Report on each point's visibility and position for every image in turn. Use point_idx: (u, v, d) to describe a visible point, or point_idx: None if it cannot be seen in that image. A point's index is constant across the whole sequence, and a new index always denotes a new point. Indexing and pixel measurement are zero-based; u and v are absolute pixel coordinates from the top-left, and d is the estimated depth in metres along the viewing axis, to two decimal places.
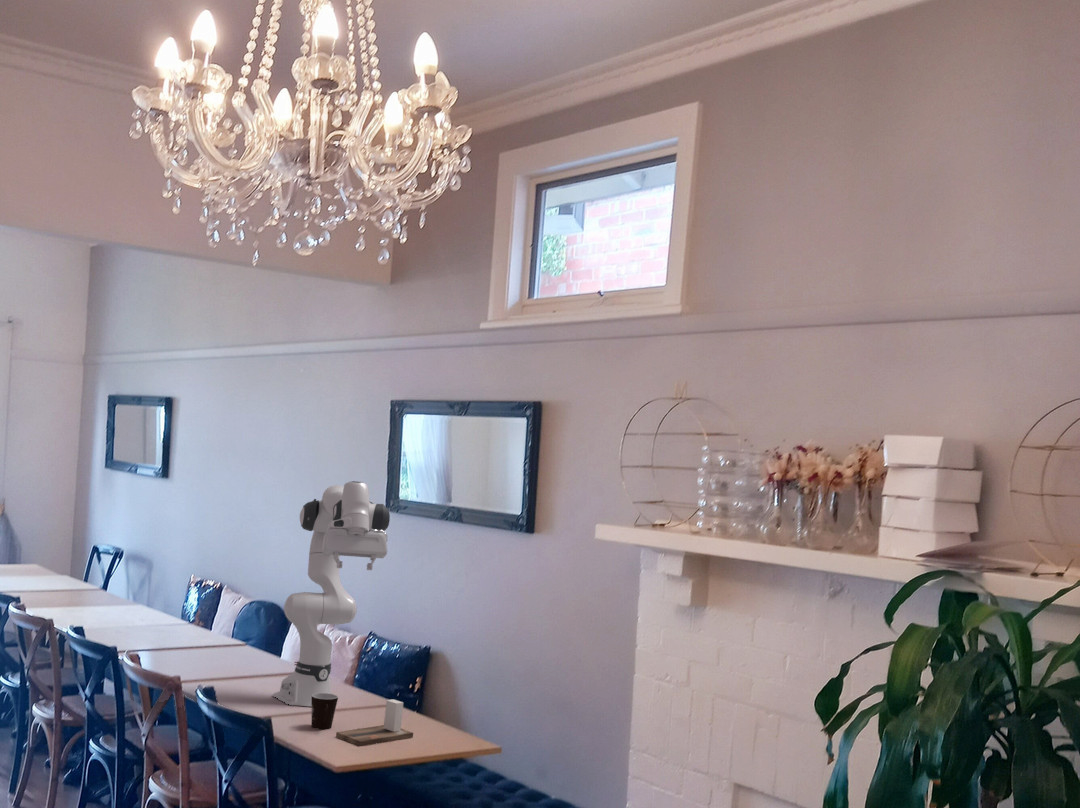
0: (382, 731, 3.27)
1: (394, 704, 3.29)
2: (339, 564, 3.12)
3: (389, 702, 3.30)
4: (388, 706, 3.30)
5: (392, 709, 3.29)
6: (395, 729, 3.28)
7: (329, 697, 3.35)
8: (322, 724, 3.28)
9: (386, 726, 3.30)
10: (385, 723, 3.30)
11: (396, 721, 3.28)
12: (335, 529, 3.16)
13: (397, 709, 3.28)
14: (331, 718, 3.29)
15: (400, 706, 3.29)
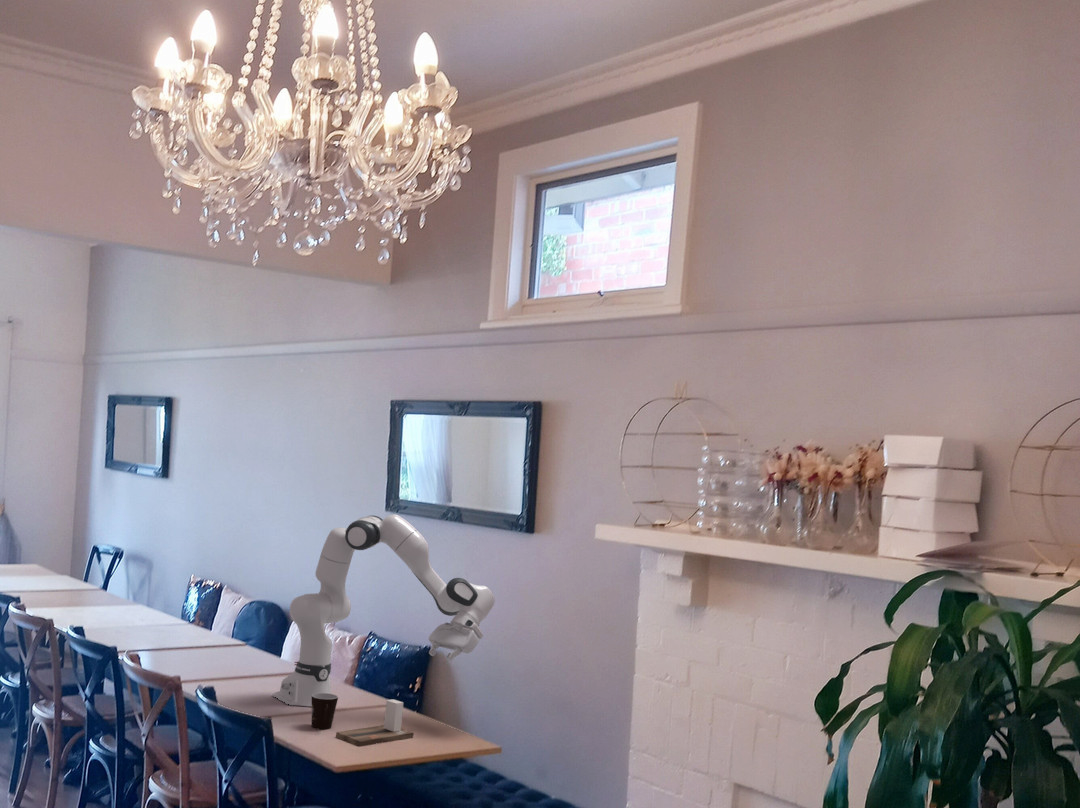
0: (382, 731, 3.27)
1: (394, 704, 3.29)
2: None
3: (389, 702, 3.30)
4: (388, 706, 3.30)
5: (392, 709, 3.29)
6: (395, 729, 3.28)
7: (329, 697, 3.35)
8: (322, 724, 3.28)
9: (386, 726, 3.30)
10: (385, 723, 3.30)
11: (396, 721, 3.28)
12: None
13: (397, 709, 3.28)
14: (331, 718, 3.29)
15: (400, 706, 3.29)
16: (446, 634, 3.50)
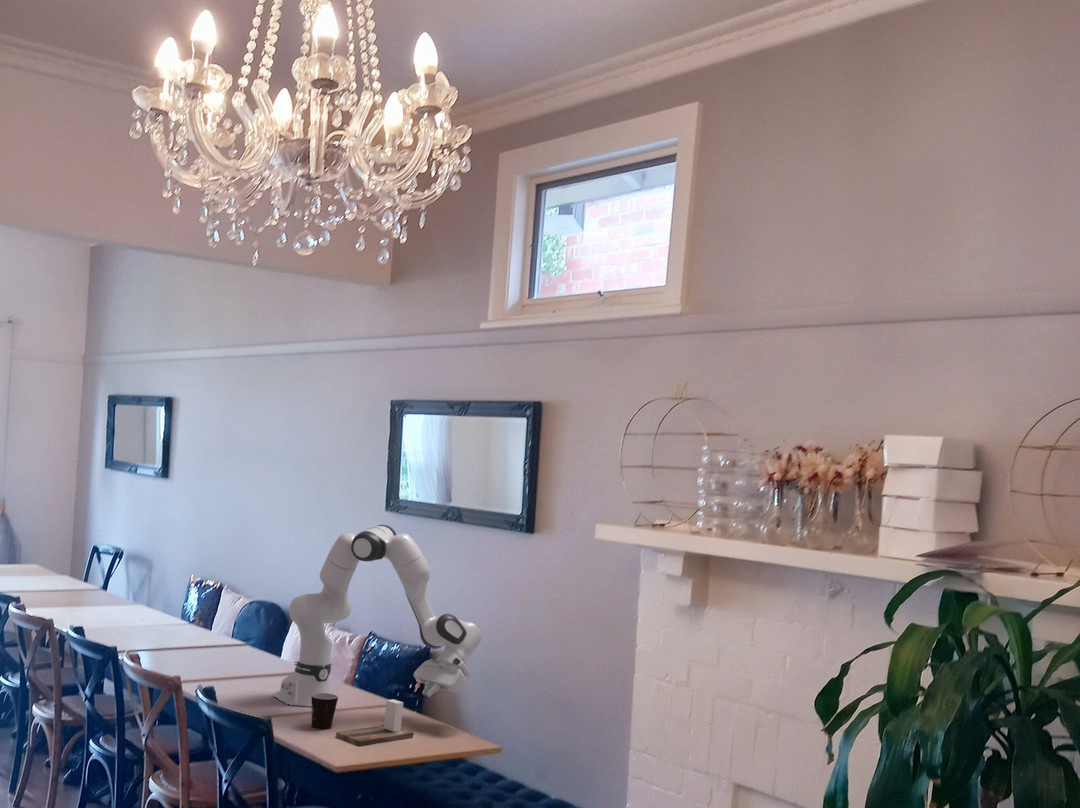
0: (382, 731, 3.27)
1: (394, 704, 3.29)
2: None
3: (389, 702, 3.30)
4: (388, 706, 3.30)
5: (392, 709, 3.29)
6: (395, 729, 3.28)
7: (329, 697, 3.35)
8: (322, 724, 3.28)
9: (386, 726, 3.30)
10: (385, 723, 3.30)
11: (396, 721, 3.28)
12: None
13: (397, 709, 3.28)
14: (331, 718, 3.29)
15: (400, 706, 3.29)
16: (432, 671, 3.46)
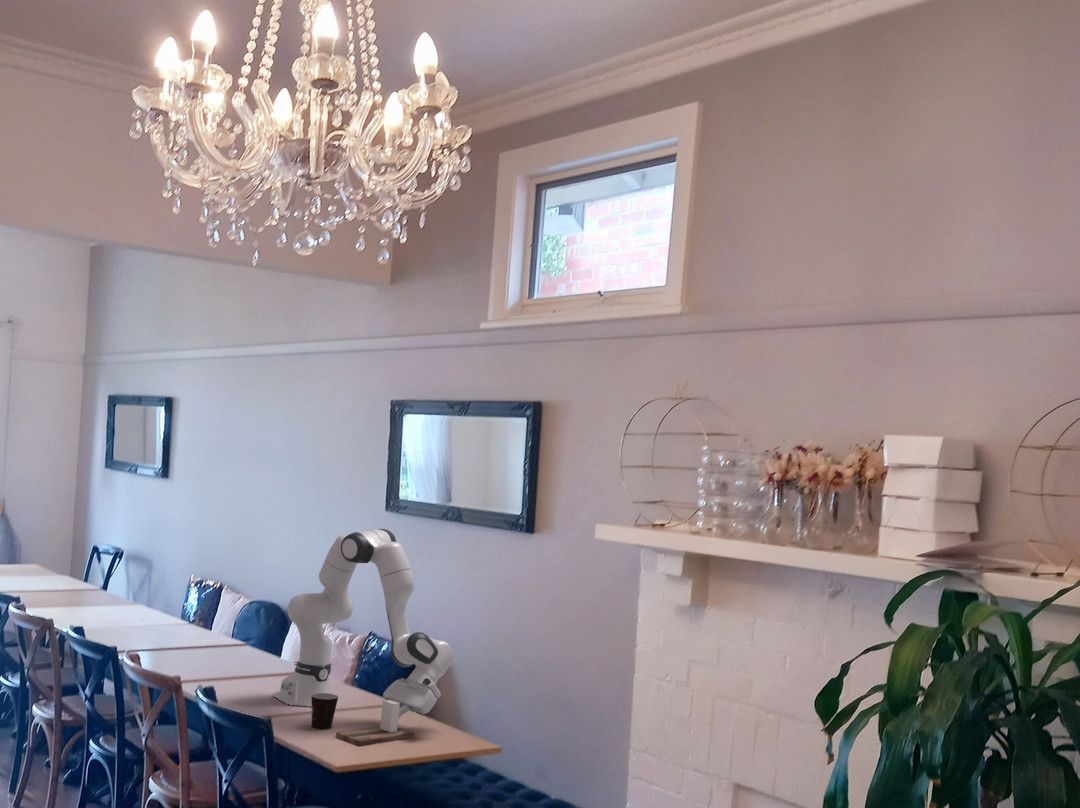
0: (382, 731, 3.27)
1: (390, 704, 3.27)
2: None
3: (385, 702, 3.29)
4: (384, 706, 3.29)
5: (389, 709, 3.28)
6: (391, 730, 3.27)
7: (329, 697, 3.35)
8: (322, 724, 3.28)
9: (382, 727, 3.29)
10: (382, 724, 3.29)
11: (392, 721, 3.27)
12: None
13: (393, 709, 3.27)
14: (331, 718, 3.29)
15: (396, 706, 3.28)
16: (402, 692, 3.36)
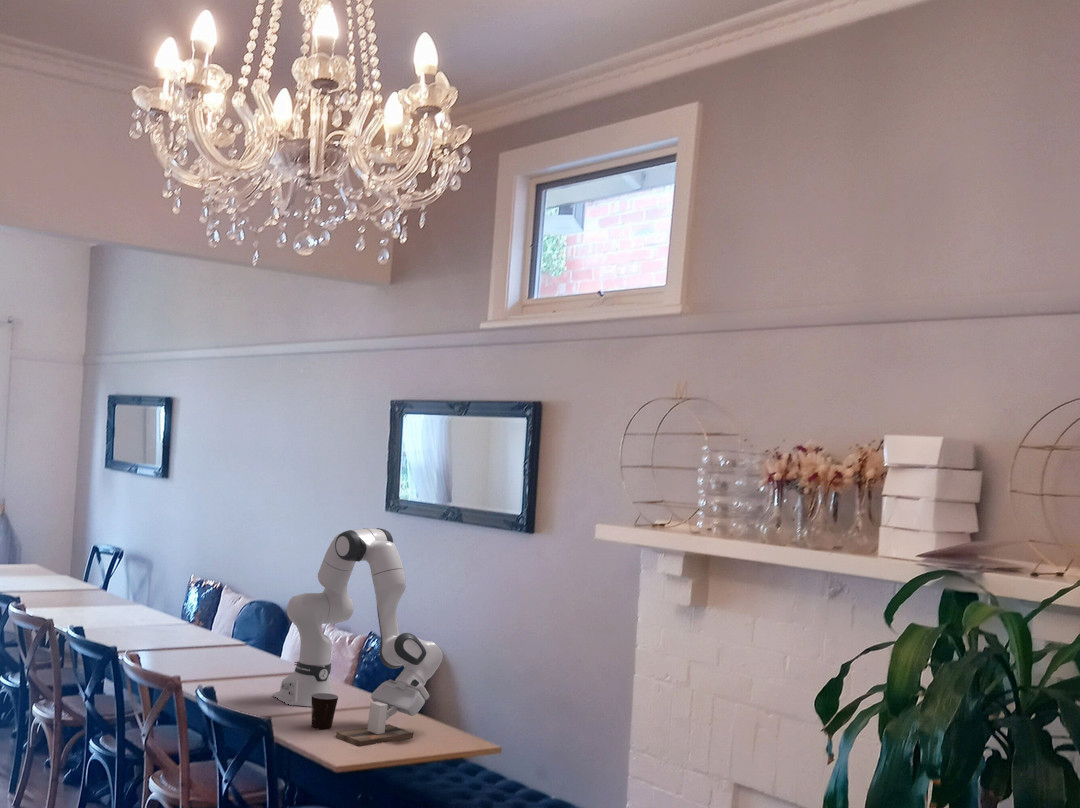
0: None
1: (378, 706, 3.23)
2: None
3: (373, 704, 3.25)
4: (372, 708, 3.25)
5: (376, 711, 3.24)
6: (379, 732, 3.23)
7: (329, 697, 3.35)
8: (322, 724, 3.28)
9: (370, 729, 3.25)
10: (369, 726, 3.25)
11: (380, 723, 3.23)
12: None
13: (381, 711, 3.23)
14: (331, 718, 3.29)
15: (384, 708, 3.24)
16: (390, 693, 3.32)
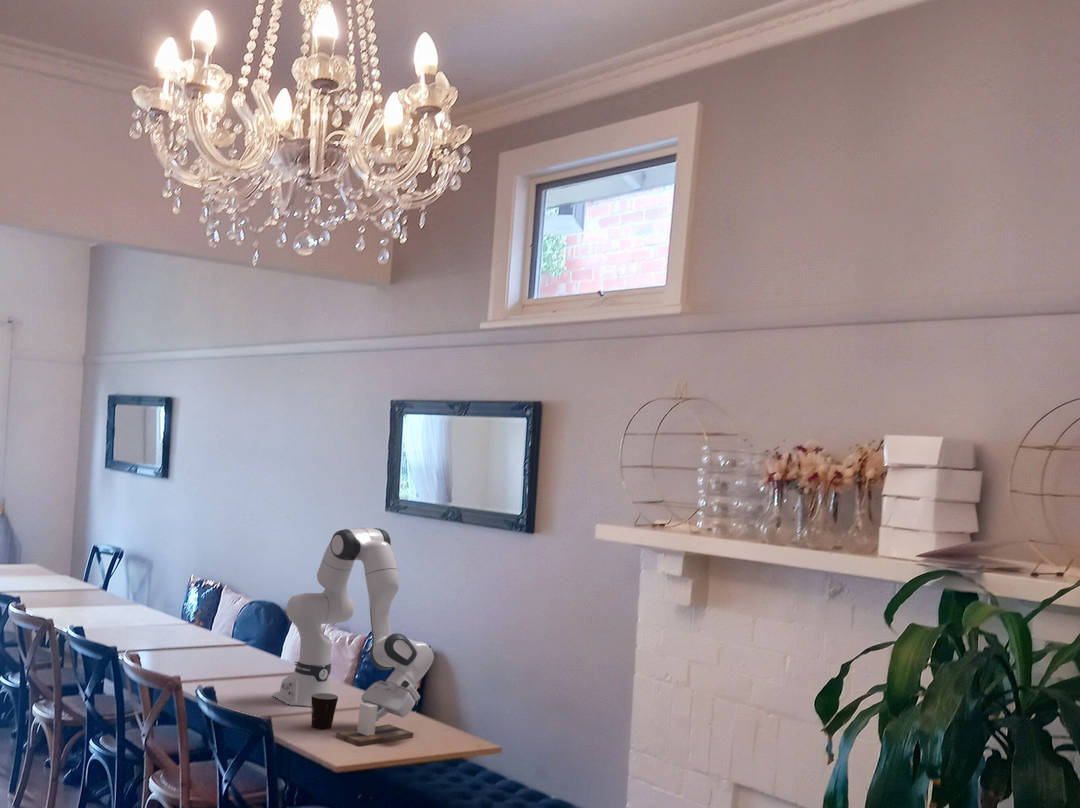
0: (382, 731, 3.27)
1: (368, 707, 3.20)
2: None
3: (363, 705, 3.22)
4: (362, 709, 3.22)
5: (366, 712, 3.21)
6: (369, 733, 3.20)
7: (329, 697, 3.35)
8: (322, 724, 3.28)
9: (360, 730, 3.21)
10: (359, 727, 3.22)
11: (370, 725, 3.20)
12: None
13: (371, 713, 3.20)
14: (331, 718, 3.29)
15: (374, 709, 3.21)
16: (380, 694, 3.29)
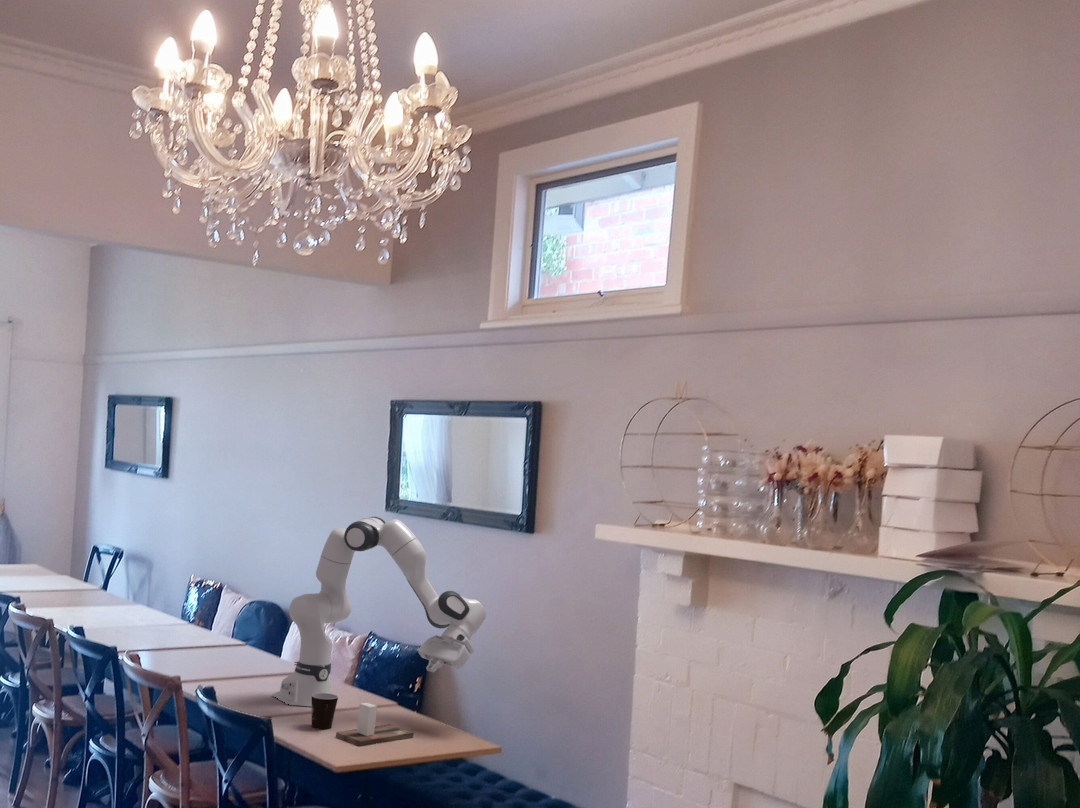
0: (382, 731, 3.27)
1: (367, 708, 3.20)
2: None
3: (362, 705, 3.22)
4: (361, 710, 3.22)
5: (366, 712, 3.20)
6: (368, 733, 3.20)
7: (329, 697, 3.35)
8: (322, 724, 3.28)
9: (359, 730, 3.21)
10: (358, 727, 3.22)
11: (369, 725, 3.20)
12: None
13: (370, 713, 3.20)
14: (331, 718, 3.29)
15: (373, 710, 3.21)
16: (436, 647, 3.47)
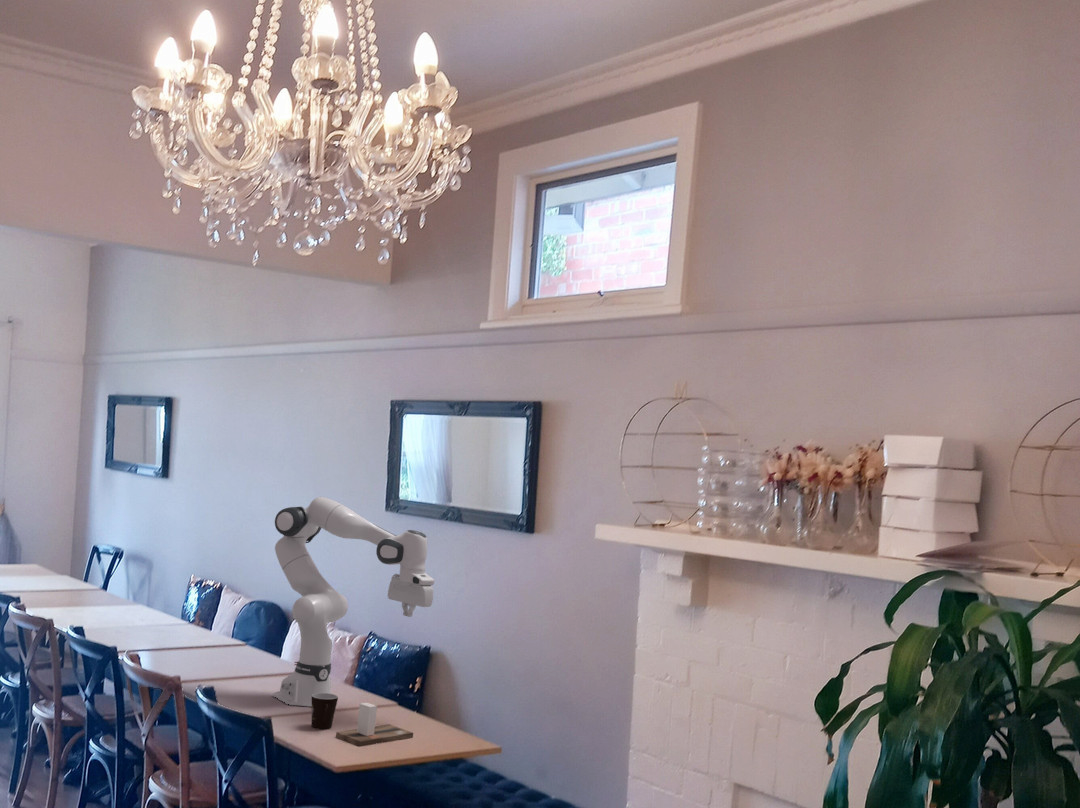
0: (382, 731, 3.27)
1: (367, 708, 3.20)
2: None
3: (362, 705, 3.22)
4: (361, 710, 3.22)
5: (366, 712, 3.20)
6: (368, 733, 3.20)
7: (329, 697, 3.35)
8: (322, 724, 3.28)
9: (359, 730, 3.21)
10: (358, 727, 3.22)
11: (369, 725, 3.20)
12: None
13: (370, 713, 3.20)
14: (331, 718, 3.29)
15: (373, 710, 3.21)
16: (401, 592, 3.57)
